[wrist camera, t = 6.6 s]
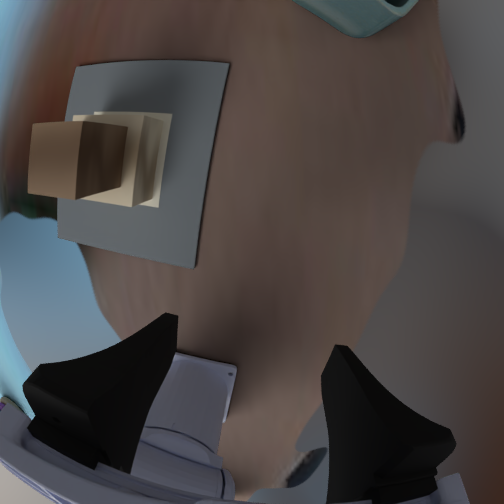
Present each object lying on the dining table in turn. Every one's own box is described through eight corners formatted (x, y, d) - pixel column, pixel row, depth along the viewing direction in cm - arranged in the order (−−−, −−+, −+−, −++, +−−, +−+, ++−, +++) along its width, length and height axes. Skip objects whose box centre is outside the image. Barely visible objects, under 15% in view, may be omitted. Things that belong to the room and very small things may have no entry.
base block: (152, 198, 20) (131, 207, 17) (90, 189, 20) (65, 196, 17) (163, 121, 18) (144, 115, 15) (98, 118, 18) (73, 115, 15)
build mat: (194, 267, 22) (193, 269, 22) (59, 236, 22) (57, 237, 22) (229, 64, 17) (229, 63, 17) (78, 67, 17) (76, 67, 17)
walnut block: (120, 187, 17) (75, 200, 12) (75, 181, 17) (27, 193, 12) (128, 126, 15) (82, 120, 11) (81, 126, 15) (33, 123, 11)
